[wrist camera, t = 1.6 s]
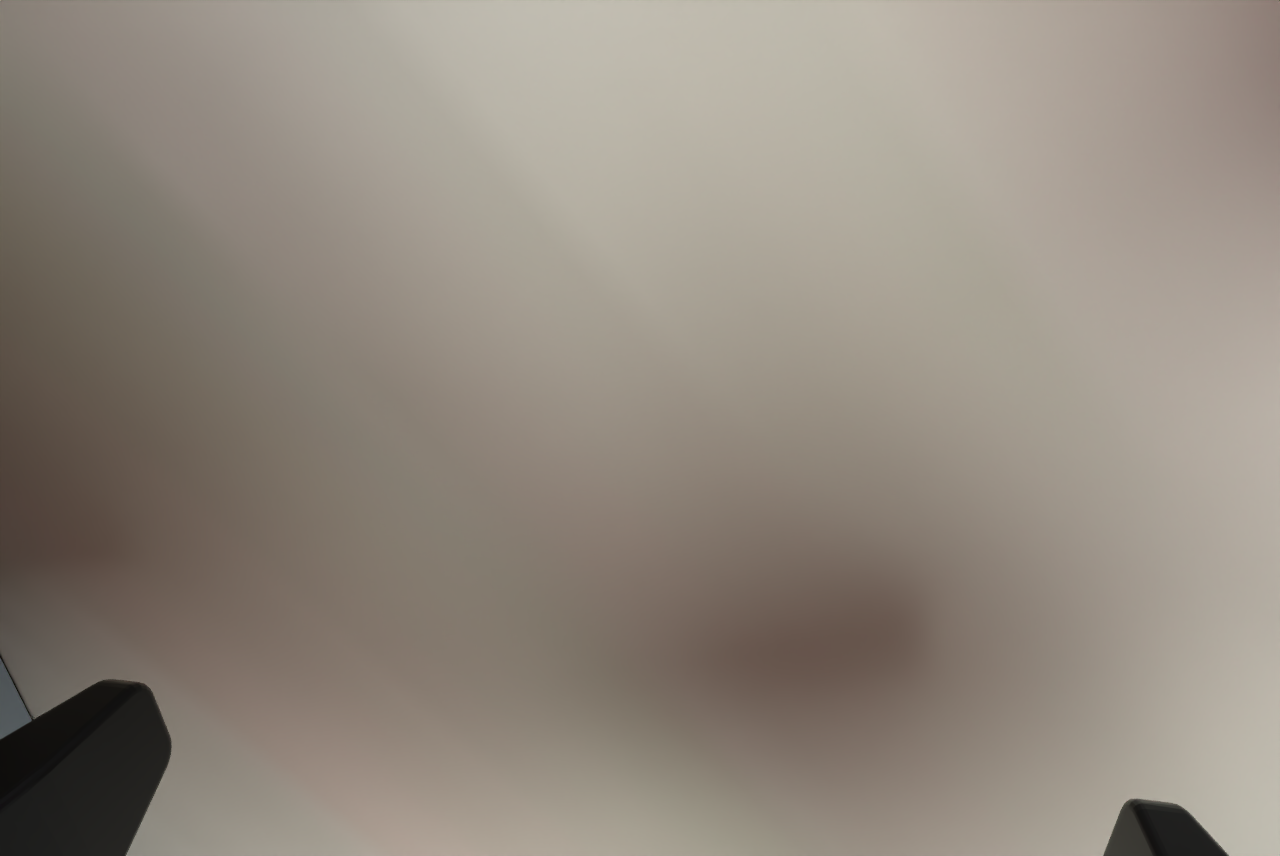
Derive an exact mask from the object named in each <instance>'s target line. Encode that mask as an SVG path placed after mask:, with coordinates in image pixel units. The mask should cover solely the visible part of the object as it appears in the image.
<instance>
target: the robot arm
mask: <svg viewBox="0 0 1280 856" xmlns="http://www.w3.org/2000/svg"><path fill="white" fill-rule="evenodd" d="M170 755H171V738H170V735H169V732H168V730H167V727H166V725H165V722H164V720H163V717H162V715H161V712H160V710H159V707H158V705H157V702H156V700H155V697H154V695H153V693H152V691H151V689H150V688H149V687H148V686H147V685H145V684H143V683H140V682H132V681H124V680H115V679H108V680H103V681H100V682H98V683H96V684H94V685H92V686H90V687H88V688H87V689H85V690H83V691H82V692H80V693H78V694H77V695H75V696H73V697H71V698H70V699H68V700H66V701H65V702H63V703H61V704H60V705H58V706H56V707H54V708H53V709H51V710H49V711H48V712H46V713H44V714H43V715H41V716H39V717H37V718H36V719H34V720H32V721H31V722H29V723H27V724H25V725H24V726H22V727H20V728H19V729H17V730H15V731H14V732H12V733H10V734H8V735H7V736H5V737H3V738H2V739H0V856H126V854H127V852H128V850H129V848H130V846H131V844H132V841H133V839H134V837H135V835H136V833H137V831H138V828H139V826H140V824H141V822H142V820H143V818H144V815H145V813H146V811H147V809H148V807H149V805H150V802H151V800H152V798H153V796H154V794H155V792H156V789H157V787H158V785H159V783H160V781H161V779H162V776H163V774H164V772H165V770H166V768H167V765H168V762H169V759H170ZM1103 856H1229V855H1228V854H1227V853H1226V852H1225V851H1224V850H1223V849H1222V847H1221V846H1220V845H1219V844H1218V843H1217V842H1216V841H1215V840H1214V839H1213V838H1212V837H1211V835H1210V834H1209V833H1208V832H1207V831H1206V830H1205V829H1204V828H1203V827H1202V826H1201V825H1200V824H1199V822H1198V821H1197V820H1196V819H1195V818H1194V817H1193V816H1192V815H1191V814H1190V813H1189V812H1188V811H1187V810H1185V809H1184V808H1182V807H1181V806H1179V805H1177V804H1173V803H1168V802H1159V801H1151V800H1142V799H1130V800H1129V801H1127V802H1126V803H1125V804H1124V805H1123V807H1122V809H1121V811H1120V813H1119V816H1118V819H1117V821H1116V824H1115V826H1114V829H1113V832H1112V834H1111V837H1110V839H1109V842H1108V845H1107V847H1106V850H1105V852H1104V855H1103Z"/></svg>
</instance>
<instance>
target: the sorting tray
mask: <svg viewBox="0 0 1280 856" xmlns="http://www.w3.org/2000/svg"><path fill="white" fill-rule="evenodd" d="M31 721H32V719H31V717H30V716H29V714H28V712H27V710H26V708H25V706H24V704H23V702H22V700H21V698H20V696H19V694H18V692H17V690H16V688H15V686H14V684H13V682H12V680H11V678H10V676H9V674H8V672H7V670H6V668H5V666H4V664H3V662H2V660H1V658H0V739H2V738H3V737H5V736H7V735H8V734H10V733H12V732H14V731H15V730H17V729H19V728H20V727H22V726H24V725H25V724H27V723H29V722H31Z"/></svg>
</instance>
